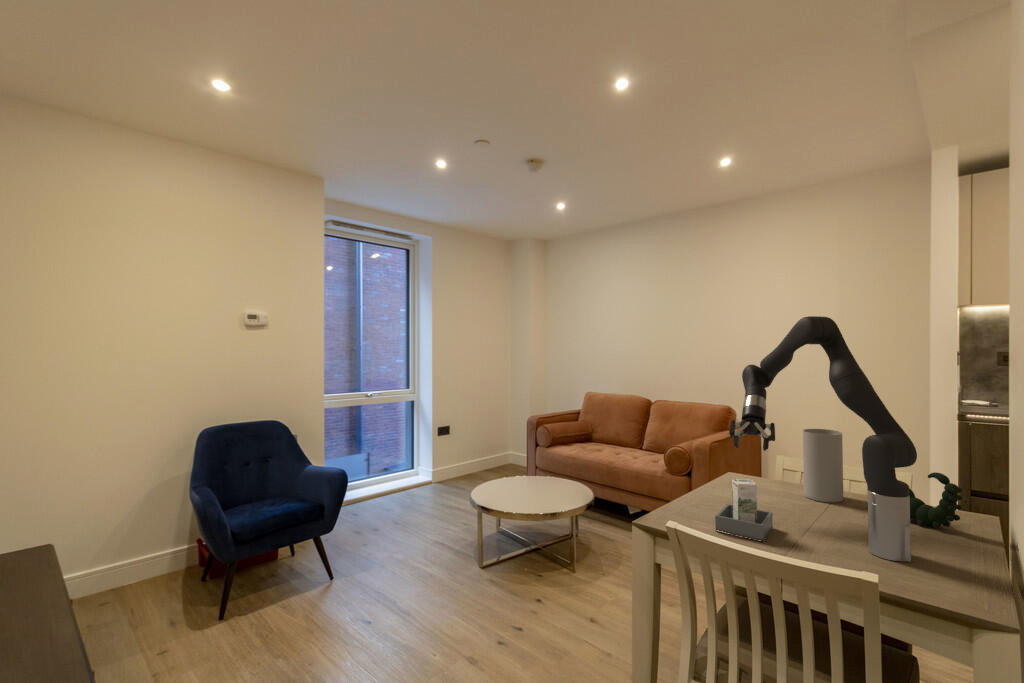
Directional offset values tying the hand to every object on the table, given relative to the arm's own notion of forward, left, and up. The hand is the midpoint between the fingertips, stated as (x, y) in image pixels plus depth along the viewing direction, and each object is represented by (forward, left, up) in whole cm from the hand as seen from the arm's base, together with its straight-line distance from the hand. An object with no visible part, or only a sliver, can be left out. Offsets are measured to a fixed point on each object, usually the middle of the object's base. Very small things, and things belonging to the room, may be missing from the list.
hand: (750, 448), depth 163 cm
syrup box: (-1, +14, -22) cm, 27 cm away
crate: (-1, +14, -23) cm, 27 cm away
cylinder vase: (-17, -36, -23) cm, 46 cm away
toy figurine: (-43, -26, -23) cm, 55 cm away
